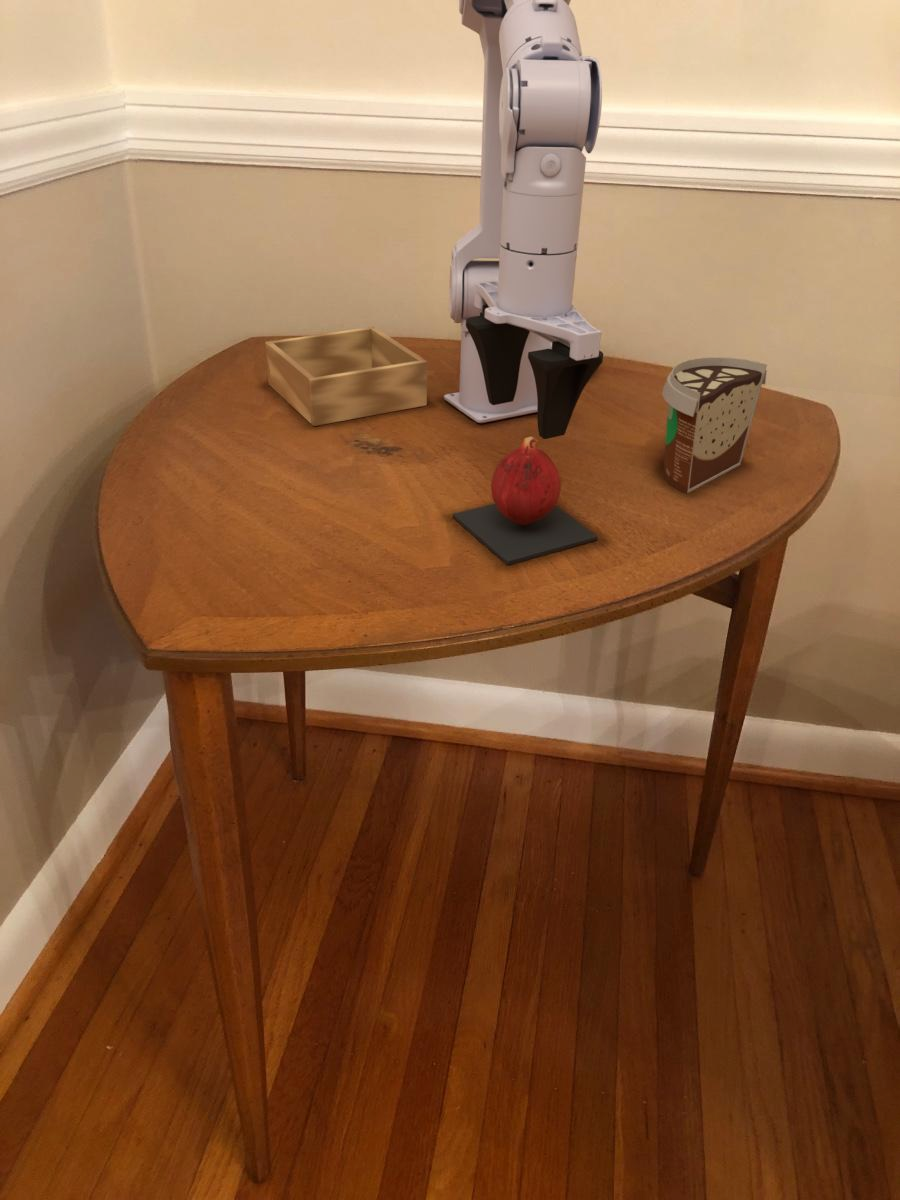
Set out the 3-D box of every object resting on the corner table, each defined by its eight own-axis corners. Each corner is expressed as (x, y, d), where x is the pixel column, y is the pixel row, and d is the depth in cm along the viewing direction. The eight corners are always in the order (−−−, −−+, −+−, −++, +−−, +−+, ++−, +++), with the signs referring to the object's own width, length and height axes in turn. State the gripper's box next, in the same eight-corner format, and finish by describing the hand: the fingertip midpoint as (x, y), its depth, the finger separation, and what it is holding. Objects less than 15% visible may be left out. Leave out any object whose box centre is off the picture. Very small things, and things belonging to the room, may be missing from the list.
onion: (552, 546, 78) (561, 457, 73) (483, 537, 79) (488, 449, 74) (560, 513, 82) (568, 428, 78) (495, 506, 83) (500, 421, 79)
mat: (538, 496, 86) (538, 492, 86) (597, 540, 79) (598, 536, 79) (452, 517, 82) (452, 513, 82) (507, 565, 76) (507, 561, 75)
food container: (695, 441, 97) (713, 346, 92) (748, 460, 94) (769, 362, 88) (623, 476, 90) (638, 375, 84) (678, 498, 86) (696, 394, 81)
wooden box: (374, 367, 113) (373, 326, 111) (427, 405, 104) (427, 361, 101) (268, 384, 108) (264, 341, 105) (313, 426, 98) (310, 380, 95)
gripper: (443, 229, 73) (440, 396, 81) (549, 275, 63) (534, 461, 70) (520, 222, 76) (509, 383, 84) (633, 264, 66) (609, 444, 73)
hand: (525, 418), depth 77 cm, fingers open, 7 cm apart
